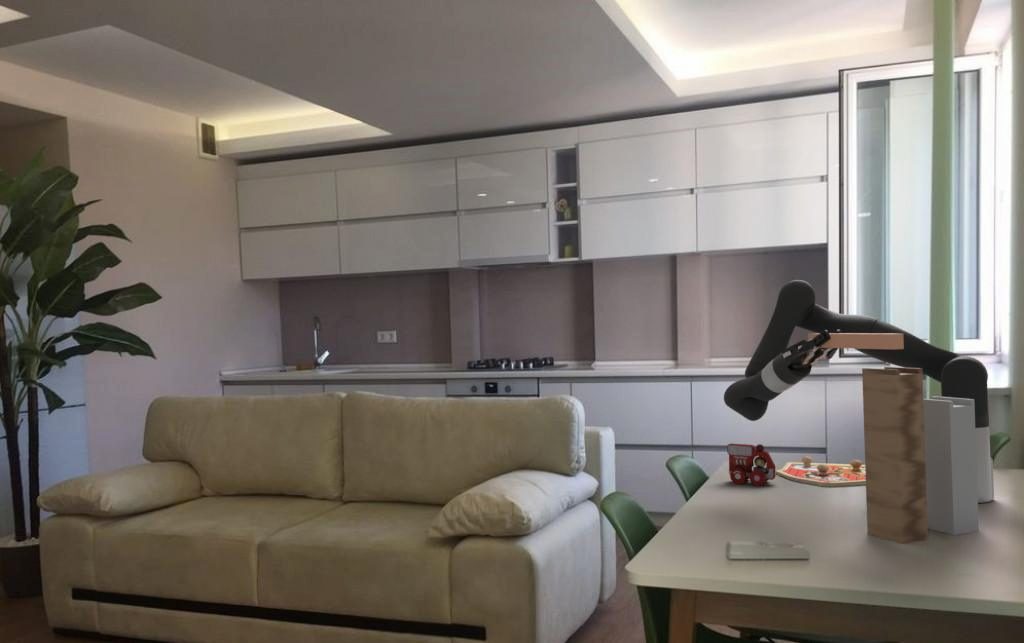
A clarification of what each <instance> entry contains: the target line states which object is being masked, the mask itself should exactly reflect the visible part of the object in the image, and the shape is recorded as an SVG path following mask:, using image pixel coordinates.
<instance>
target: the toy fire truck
mask: <svg viewBox="0 0 1024 643" xmlns="http://www.w3.org/2000/svg"><path fill="white" fill-rule="evenodd" d="M726 451H727V454H728V473H729V476H730V480H731V482H732V483H733V484H735V485H742V484H743V483H745V482H746V481H748V480H749V481H750V483H751V484H752V485H754V486H756V485H758V486H757V487H760V486H762V485H764V484H765V483H766V482H768V481H769V480H771V481H772V480H774V479H775V478H776V475H777V474H776V464H775V463H774V461H773V459H772V456H771V454H770V452H769V451H767V450H765V447H764V445H763V444H761V443H759V444H757V445H756V446H755V445H753V444H746V443H744V444H743V443H728V444H727V446H726ZM745 480H746V481H745Z"/></svg>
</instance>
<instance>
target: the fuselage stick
mask: <svg viewBox="0 0 1024 643" xmlns="http://www.w3.org/2000/svg"><path fill="white" fill-rule="evenodd" d="M818 334H820V333H815V332H814V333H808V334H807V341H808V340H809V339H810V338H815V337H816V336H817V335H818ZM829 335H830V340H828V341H827V342H826V343H824V344H823V345H822V346H820V347H818V348H838V349H854V350H856V349H904V339H903V334H868V333H829Z"/></svg>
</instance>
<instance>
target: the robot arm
mask: <svg viewBox="0 0 1024 643" xmlns="http://www.w3.org/2000/svg"><path fill="white" fill-rule="evenodd" d="M816 299H817V298H816V293H815V290H814V288H813V286H812V285H811V284H810V283H809V282H807V281H806V280H802V279H794V280H791V281H788V282H786V283H785V284H783V286H782V287H781V289H780V291H779V293H778V296H777V300H776V304H775V307H774V309H773V310H774V311H773V313H772V316H771V319H770V320H769V323H768V326H767V327H766V329H765V331H764V334H763V336H762V337H761V339H760V342H759V344H758V345H757V347H756V349H755V351H754V353H753V355H752V357H751V358H750V361H749V362H748V365H747V366H746V368H745V371H744V376H745V378H742V379H739V380H737V381H734V382H733V383H732V384H730V385H729V386H728V387H727V388H726V390H725V391H724V394H723V401H724V403H725V405H726V406H727V407H728V408H730V410H732V411H734V412H736V413H737V414H739V415H741V416H742V417H744V419H746V420H748V421H751V422H756V421H758V420H760V419H762V418H763V417H764V415H765V414H766V412H767V411H768V407H769V402H771V401H772V400H774V399H776V398H777V397H778V396H780V395H781V394H783V393H784V392H785V391H787V390H790V389H792V388H793V387H794V386H795V385H797V384H798V383H799V382H802V380H803V379H805V378H806V377H807V376H809V375H810V374H811V373H812V372H811V371H812V366H813V365H815V364H817V363H818V362H819V361H820V360H821V359H822V358H826V360H831V359H832V358H833V357H834V356H835V354H836V353H837V351H838V349H839V348H818V347H820V346H822V345H823V344H824V343H826V342H827V341H828V340H830V335H829V333H868V334H903V339H904V349H855V351H858V352H860V353H862V354H865V355H866V356H869V357H871V358H873V359H875V360H876V359H877V360H879V361H882V362H884V363H887V364H890V365H894V366H896V367H902V368H922V375H925V376H926V377H929V378H931V379H933V380H934V381H936V382H938V383H940V392H941V393H940V394H941V397H951V398H964V399H974V404H975V434H976V463H977V493H978V504H979V503H981V504H983V503H989V502H991V501H992V500H995V486H994V460H993V458H992V457H991V442H990V441H991V440H990V438H991V437H990V414H989V412H990V411H989V402H988V401H989V400H988V399H989V398H988V397H989V396H988V395H989V394H988V393H989V392H988V380H989V373H988V370H987V368H986V366H985V365H984V364H983V363H982V362H981V361H980V360H978V359H977V358H975V357H971V356H967V355H964V354H960V353H957V352H953V351H951V350H948V349H944V348H941V347H938V346H936V345H934V344H931V343H929V342H927V341H925V340H923V339H921V338H919V337H918V336H916V335H914V334H912V333H910V332H909V331H906V330H903V329H902V328H899V326H895V325H893V324H892V323H889V322H886V321H884V320H881V319H878V318H877V317H875V316H874V317H873V316H870V315H865V314H864V315H863V314H847V313H846V314H845V313H839V312H835V311H832V310H830V309H828V308H825V307H823V306H821V305H819V304H817V303H816V301H817V300H816ZM796 327H798V328H801V329H803V330H807V331H809V332H813V333H814V334H815V333H820V334H818V335H817V336H816V337H815V338H810V339H809V340H808V339H807V340H806V339H802V340H800V341H798V342H796V343H794V344H793V345H791V346H789V343H790V340H791V339H792V338H791V337H792V336H793V332H794V330H795V328H796Z"/></svg>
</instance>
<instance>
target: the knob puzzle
mask: <svg viewBox="0 0 1024 643" xmlns="http://www.w3.org/2000/svg"><path fill="white" fill-rule="evenodd" d="M801 461H802V462H796V461H792V462H791V461H789V462H786V463H785V465H784V466H783V467H781V469H775V474H776V473H777V474H779V475H781V476H783V477H782V478H784V477H785V478H784V479H786V478H787V480H789V479H790V480H789V481H792V480H794V481H793V482H797V481H798V482H797V483H802V482H803V483H802V484H807V483H808V484H807V485H812V486H819V487H823V488H824V487H825V488H840V487H841V488H843V487H844V488H845V487H858V486H860V487H861V486H866V472H865V464H863V463H862V461H861V460H859V459H851V461H850V463H849V464H848V463H822V462H813V458H812V457H811V456H807V455H806V456H803V457H801ZM792 464H804V465H792ZM777 474H776V475H777ZM779 475H778V476H779ZM781 476H780V477H781Z"/></svg>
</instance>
